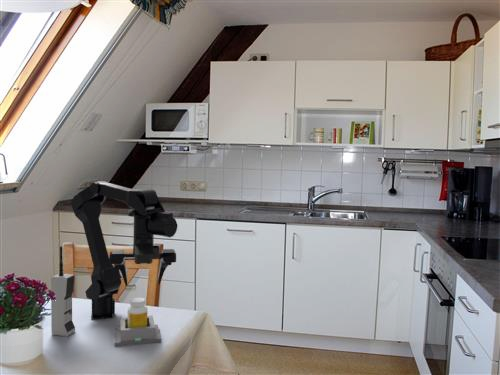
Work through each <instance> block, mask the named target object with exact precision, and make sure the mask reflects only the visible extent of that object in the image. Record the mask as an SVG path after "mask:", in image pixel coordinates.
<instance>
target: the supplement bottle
mask: <svg viewBox="0 0 500 375" xmlns="http://www.w3.org/2000/svg"><path fill="white" fill-rule="evenodd" d="M147 316H148V307H147V306H146V298H144V297H134V298H132V299H130V306H129V307H128V309H127V318H128V328H137V327H147Z"/></svg>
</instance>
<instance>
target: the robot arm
mask: <svg viewBox="0 0 500 375" xmlns="http://www.w3.org/2000/svg"><path fill="white" fill-rule="evenodd" d="M107 198H109V199H112V200H117V201H120V202H123V203H125V204H126V206H127V207H129V208H131V209H132V210H131V211H130V212H129V213H127V215H128V217H131V218H133V243H132V244H133V246H132V252H130V253H127V252H125V250H124V249H117V250H116V249H114V250H111V251H110V253H108V249H107V244H106V241H105V238H104V234H103V229H102V226H101V222H100V216H101V212H102V204H103V203H104V202H105V200H106V199H107ZM71 208H72V211H73V214H74V215H75V218H77V219H78V220H79V221H80V222H81V223H82V226H83V230H84V235H85V237H86V242H87V245H88V249H89V252H90V257H91V261H92V266H93V269H92V272H91V274H90V275H91V276H90V278H91V284H90V286H89V287H87V289H86V290H85V296H86V299H90V300H91V315H90V319H91V320H95V319H96V320H97V319H110V318H114V314H115V312H116V299H115V297H114V295H117V294H119V291H120V288H121V285H122V279H123V282H124V284H125V287H127V286H128V272H127V264H126V261H131V260H132V261H133V260H134V264H136V265H142V264H147V265H151V264H152V263H153V260H159V268H158V277H157V285H158V286H159V285H161V284H160V283H161V281H162V279H163V276H164V273H165V271H166V269H167V267H168V266H172V263H177V252H176V251H175V249H174V248H167V249H166V248H165V249H161V250H160V248H161V247H160V245H154V238H155V237H154V236H159V237H166V238H172V237H174V236H175V234H176V233H177V231H178V222H177V220H176V218H175V217H173V215H174V214H173V212H166V211H165V209H164V206H163V205H162V203H161V201H160V199H159V197H158V194H157V191H156V190H154V189H148V188H146V189H143V188H142V189H141V188H140V189H137V188H136V189H133V188H129V187H126V186H122V185H118V184H115V183H109V182H108V181H105V180H103V181H102V180H101V181H93V182H92V183H91V184H90V185H89V186H87V187H86V188H85V189H82V190H81V191H79V192H78V193H77V194H75V195H74V196H73V198H72V199H71ZM160 251H161V252H160Z"/></svg>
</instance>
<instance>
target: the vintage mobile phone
mask: <svg viewBox="0 0 500 375" xmlns="http://www.w3.org/2000/svg"><path fill="white" fill-rule="evenodd" d="M63 267H64V264H63V246H59V273H58V274H55V275H53V276H51V277H50V292H51V291H53V292H54V293H55V294H56V301H53V300H51V299H50V302H51V309H50V310H51V311H50V312H51V313H50V314H51V315H50V318H51V320H50V321H51V322H50V323H51V325H50V326H51V335H52V336H59V337H68V336H70V335H72V334H74V333H75V332H76V326H75V323H74V322H73V293H74V290H75V281H76V280H75V279H76V278H75V276H76V275H75V274H71V273H64V268H63Z"/></svg>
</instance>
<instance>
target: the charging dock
mask: <svg viewBox="0 0 500 375" xmlns="http://www.w3.org/2000/svg"><path fill="white" fill-rule="evenodd" d="M114 328H115V327H114ZM161 342H162V338H161V333H160V329H159V325H158V324H155V320H154V315H147V327H137V328H128V317H121V318H120V327H116V328H115V329H114V347H115V348H116V347H124V346H125V347H126V346H135V345H143V344H144V345H145V344H155V343H161Z"/></svg>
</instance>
